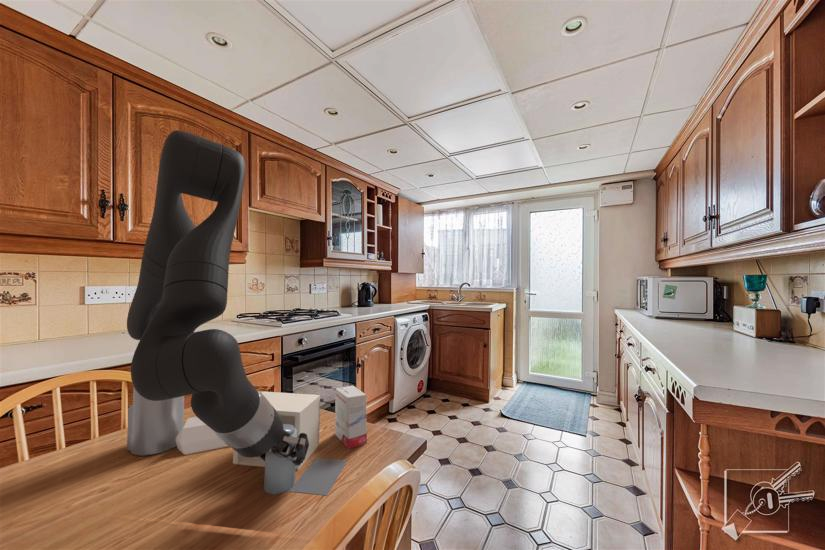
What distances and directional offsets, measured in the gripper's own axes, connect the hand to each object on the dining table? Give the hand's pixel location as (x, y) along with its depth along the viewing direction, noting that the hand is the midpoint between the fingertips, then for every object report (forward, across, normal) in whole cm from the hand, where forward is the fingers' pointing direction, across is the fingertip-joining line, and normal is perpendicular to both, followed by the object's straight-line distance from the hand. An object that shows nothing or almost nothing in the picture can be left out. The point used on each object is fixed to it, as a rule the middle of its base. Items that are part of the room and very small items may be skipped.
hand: (285, 458), depth 60 cm
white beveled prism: (+13, +19, -6) cm, 24 cm away
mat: (+5, -6, +2) cm, 8 cm away
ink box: (+15, -7, -9) cm, 19 cm away
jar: (+2, 0, +4) cm, 5 cm away
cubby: (+9, +6, -3) cm, 11 cm away
